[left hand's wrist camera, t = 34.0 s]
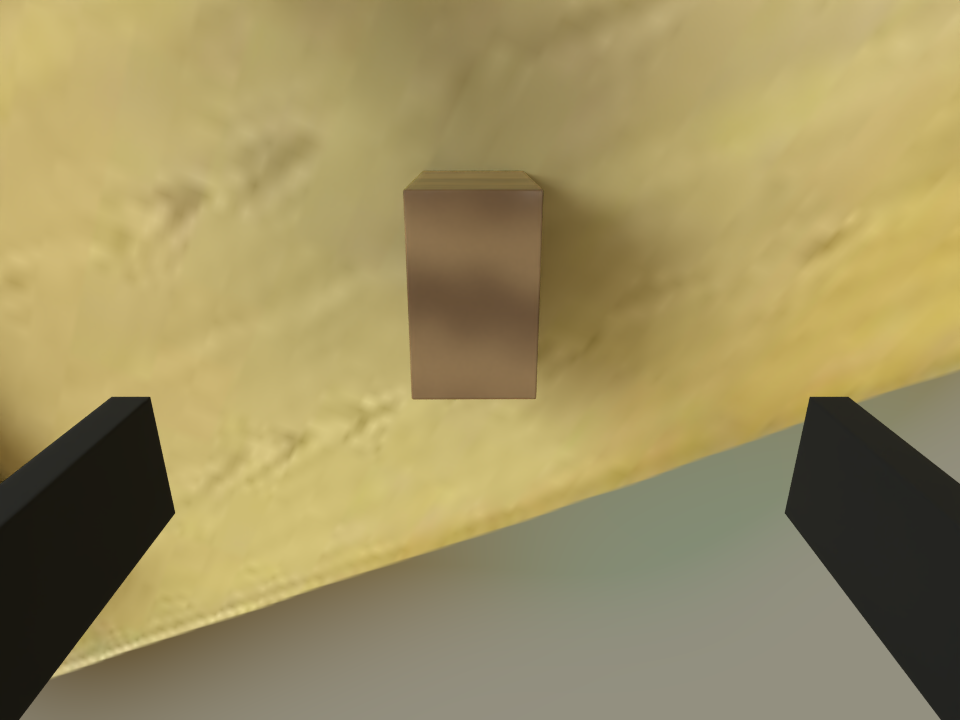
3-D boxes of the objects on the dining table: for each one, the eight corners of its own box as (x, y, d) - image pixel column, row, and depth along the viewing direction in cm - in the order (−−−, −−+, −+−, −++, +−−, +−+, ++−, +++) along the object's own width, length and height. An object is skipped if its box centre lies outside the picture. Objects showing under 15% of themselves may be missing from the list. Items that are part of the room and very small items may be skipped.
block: (422, 170, 33) (403, 189, 24) (523, 170, 33) (543, 189, 24) (427, 329, 37) (411, 399, 27) (520, 329, 37) (536, 399, 27)
